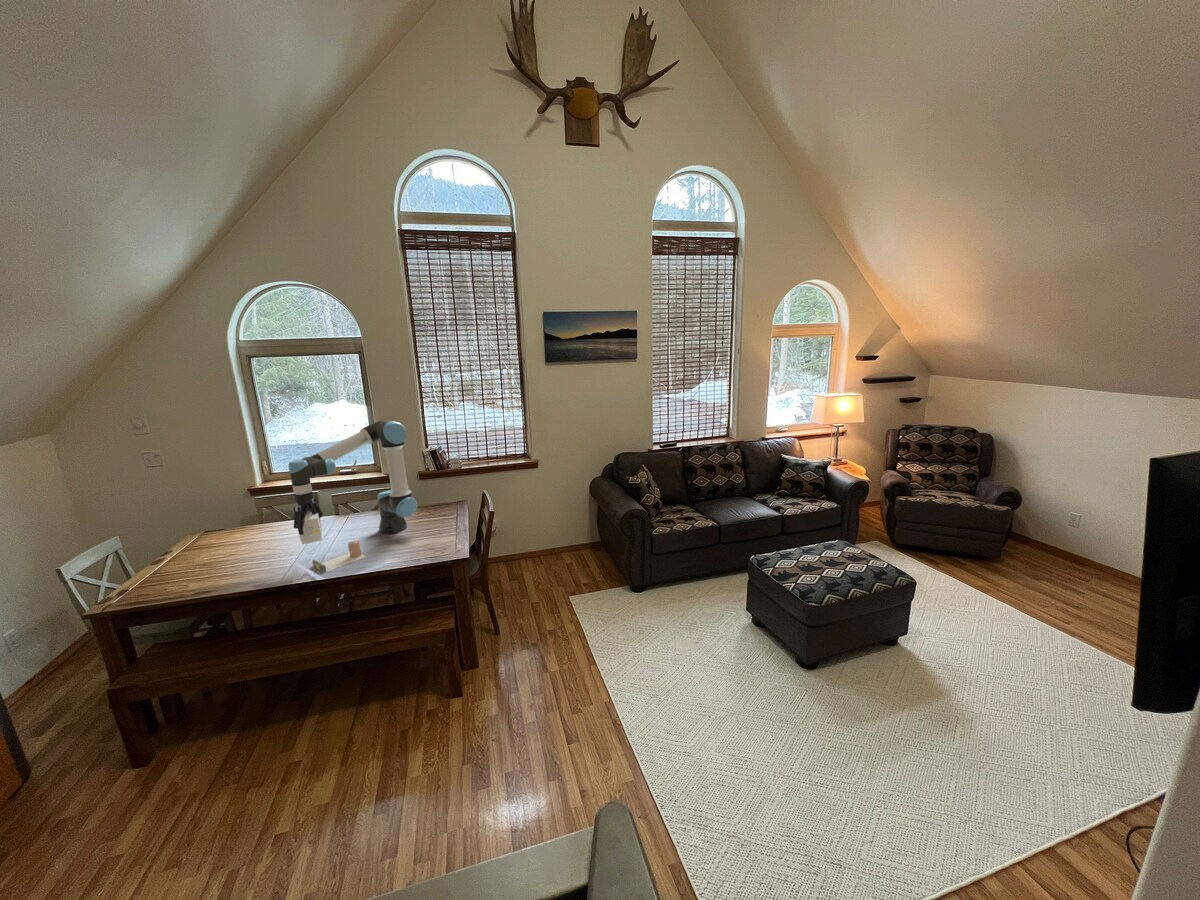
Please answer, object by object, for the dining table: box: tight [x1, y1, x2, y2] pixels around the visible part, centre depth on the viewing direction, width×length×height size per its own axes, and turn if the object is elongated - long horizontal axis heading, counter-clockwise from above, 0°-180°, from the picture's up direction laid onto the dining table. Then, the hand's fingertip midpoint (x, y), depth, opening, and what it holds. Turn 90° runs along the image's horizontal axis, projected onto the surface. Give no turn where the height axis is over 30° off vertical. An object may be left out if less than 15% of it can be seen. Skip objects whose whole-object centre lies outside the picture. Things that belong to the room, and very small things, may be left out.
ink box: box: [301, 511, 323, 545], centre depth 230 cm, size 9×8×13 cm
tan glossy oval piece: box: [347, 540, 362, 558], centre depth 239 cm, size 5×5×7 cm
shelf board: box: [312, 552, 367, 573], centre depth 233 cm, size 20×12×4 cm, turn 142°
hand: (311, 535), depth 231 cm, fingers closed on ink box, 11 cm apart
